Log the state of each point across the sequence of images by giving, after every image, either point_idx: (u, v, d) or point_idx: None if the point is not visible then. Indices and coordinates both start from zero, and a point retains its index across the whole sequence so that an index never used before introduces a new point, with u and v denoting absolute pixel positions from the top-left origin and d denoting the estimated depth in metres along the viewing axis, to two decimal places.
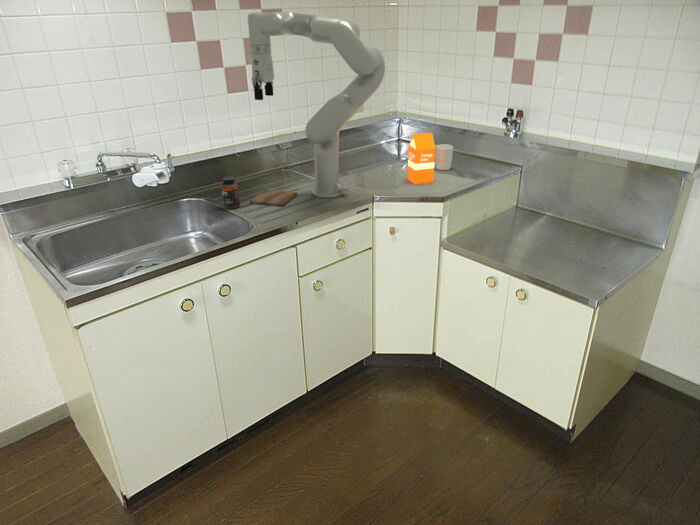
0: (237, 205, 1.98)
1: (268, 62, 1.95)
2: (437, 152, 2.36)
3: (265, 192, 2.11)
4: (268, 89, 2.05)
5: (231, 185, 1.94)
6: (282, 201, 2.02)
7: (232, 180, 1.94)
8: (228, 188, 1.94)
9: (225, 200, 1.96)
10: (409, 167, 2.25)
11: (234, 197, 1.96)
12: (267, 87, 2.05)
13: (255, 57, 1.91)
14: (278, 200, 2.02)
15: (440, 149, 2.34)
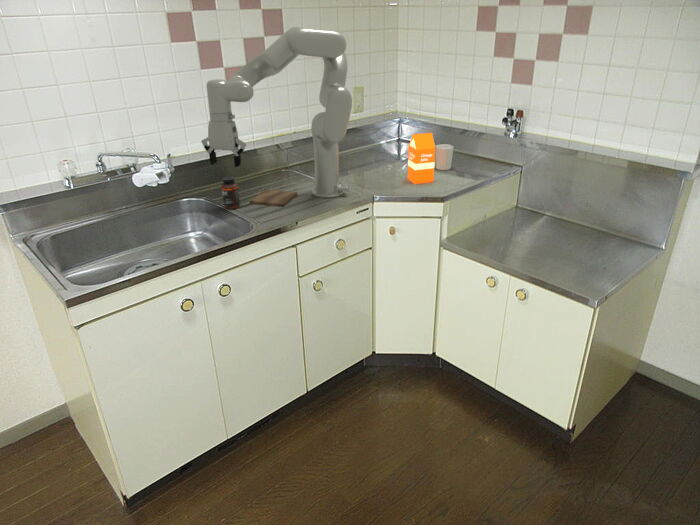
0: (237, 205, 1.98)
1: None
2: (437, 152, 2.36)
3: (265, 192, 2.11)
4: (214, 157, 1.93)
5: (231, 185, 1.94)
6: (282, 201, 2.02)
7: (232, 180, 1.94)
8: (228, 188, 1.94)
9: (225, 200, 1.96)
10: (409, 167, 2.25)
11: (234, 197, 1.96)
12: (213, 155, 1.92)
13: (232, 124, 1.85)
14: (278, 200, 2.02)
15: (440, 149, 2.34)
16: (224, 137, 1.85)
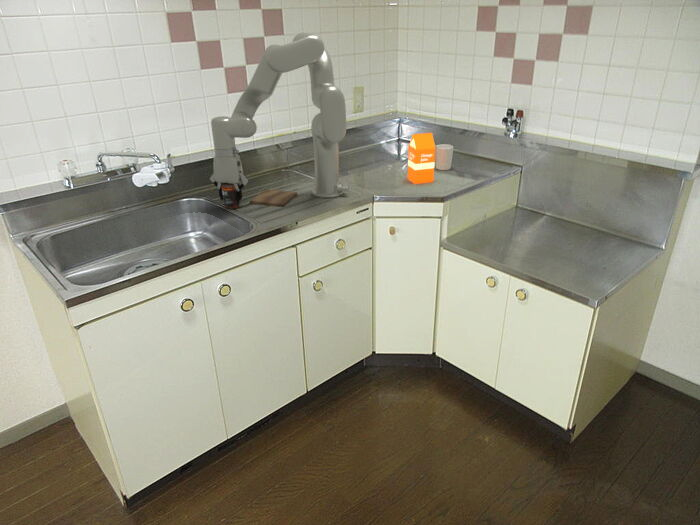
0: (237, 205, 1.98)
1: None
2: (437, 152, 2.36)
3: (265, 192, 2.11)
4: None
5: (231, 185, 1.94)
6: (282, 201, 2.02)
7: None
8: (228, 188, 1.94)
9: (225, 200, 1.96)
10: (409, 167, 2.25)
11: (234, 197, 1.96)
12: None
13: (237, 159, 1.90)
14: (278, 200, 2.02)
15: (440, 149, 2.34)
16: (229, 171, 1.91)
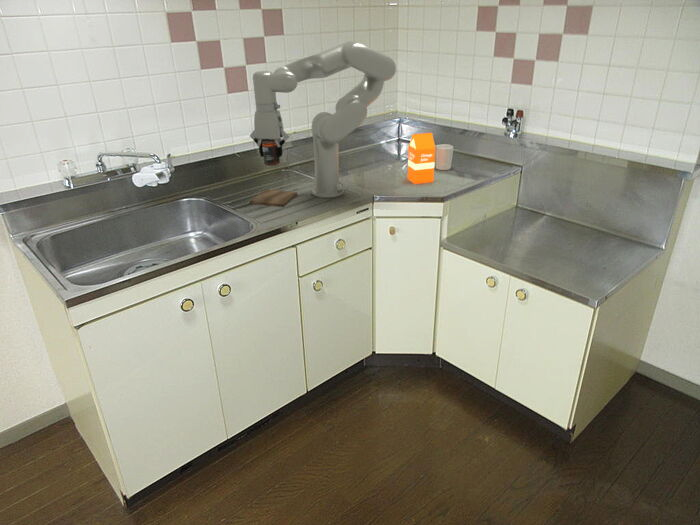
0: (277, 162, 1.99)
1: None
2: (437, 152, 2.36)
3: (265, 192, 2.11)
4: None
5: (272, 141, 1.95)
6: (282, 201, 2.02)
7: None
8: (269, 144, 1.94)
9: (266, 156, 1.97)
10: (409, 167, 2.25)
11: (275, 154, 1.97)
12: None
13: (278, 114, 1.91)
14: (278, 200, 2.02)
15: (440, 149, 2.34)
16: (270, 127, 1.92)
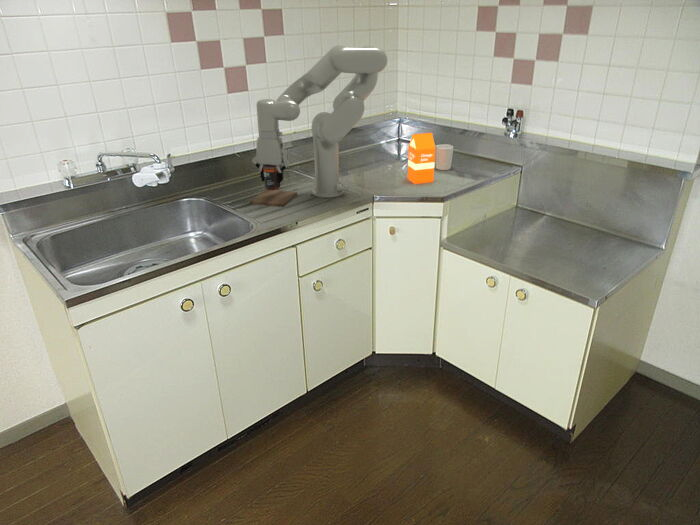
0: (278, 186, 2.03)
1: None
2: (437, 152, 2.36)
3: (265, 192, 2.11)
4: None
5: (273, 167, 1.99)
6: (282, 201, 2.02)
7: None
8: (270, 169, 1.99)
9: (267, 181, 2.01)
10: (409, 167, 2.25)
11: (276, 179, 2.01)
12: None
13: (280, 141, 1.95)
14: (278, 200, 2.02)
15: (440, 149, 2.34)
16: (272, 153, 1.96)
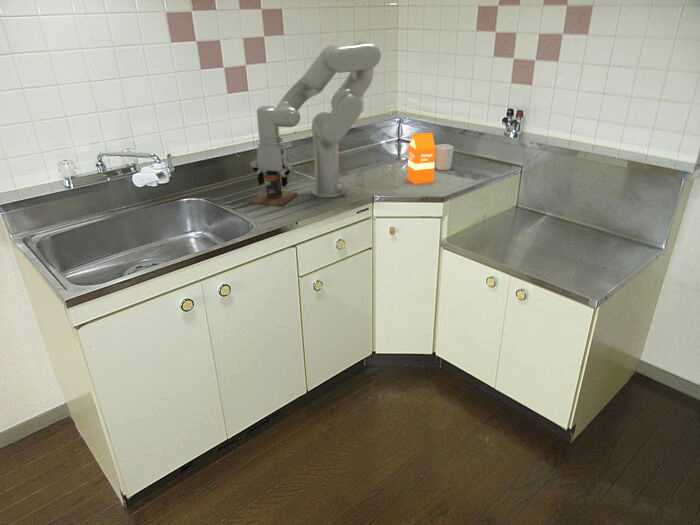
0: (279, 195, 2.05)
1: None
2: (437, 152, 2.36)
3: (265, 192, 2.11)
4: (262, 178, 2.05)
5: (274, 175, 2.01)
6: (282, 201, 2.02)
7: None
8: (272, 178, 2.00)
9: (268, 190, 2.03)
10: (409, 167, 2.25)
11: (277, 187, 2.03)
12: (261, 176, 2.04)
13: (280, 147, 1.96)
14: (278, 200, 2.02)
15: (440, 149, 2.34)
16: (273, 159, 1.97)
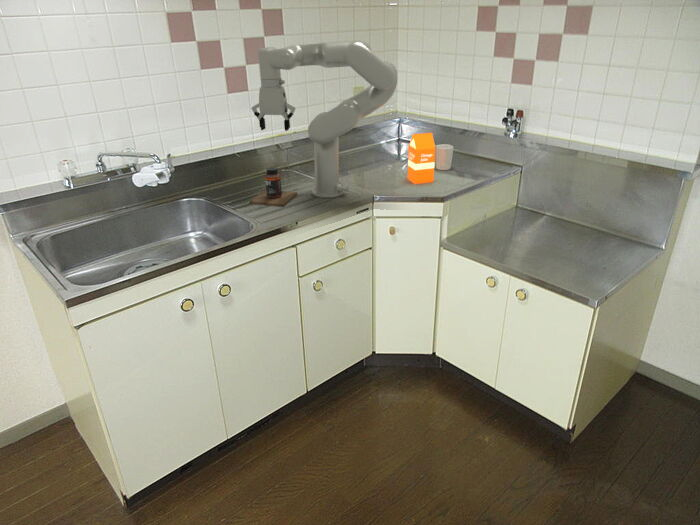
0: (279, 195, 2.05)
1: None
2: (437, 152, 2.36)
3: (265, 192, 2.11)
4: (263, 123, 2.04)
5: (275, 175, 2.01)
6: (282, 201, 2.02)
7: (276, 170, 2.01)
8: (272, 178, 2.00)
9: (268, 190, 2.03)
10: (409, 167, 2.25)
11: (277, 187, 2.03)
12: (263, 121, 2.03)
13: (283, 90, 1.96)
14: (278, 200, 2.02)
15: (440, 149, 2.34)
16: (275, 102, 1.97)
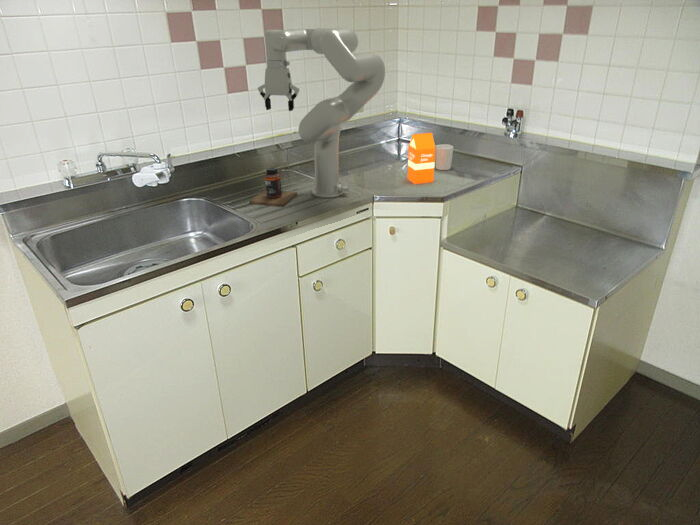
0: (279, 195, 2.05)
1: None
2: (437, 152, 2.36)
3: (265, 192, 2.11)
4: (269, 103, 2.12)
5: (275, 175, 2.01)
6: (282, 201, 2.02)
7: (275, 170, 2.01)
8: (272, 178, 2.00)
9: (268, 190, 2.03)
10: (409, 167, 2.25)
11: (277, 187, 2.03)
12: (268, 101, 2.11)
13: (287, 71, 2.03)
14: (278, 200, 2.02)
15: (440, 149, 2.34)
16: (280, 83, 2.04)
